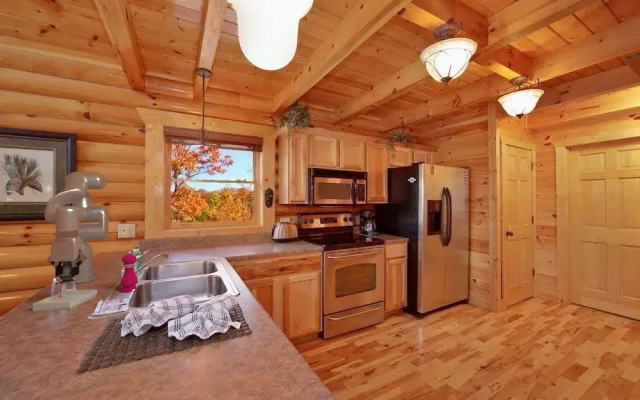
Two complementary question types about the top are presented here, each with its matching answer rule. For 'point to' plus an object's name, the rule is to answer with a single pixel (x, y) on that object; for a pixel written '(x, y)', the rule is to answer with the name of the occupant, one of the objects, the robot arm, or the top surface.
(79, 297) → the tray
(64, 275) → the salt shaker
